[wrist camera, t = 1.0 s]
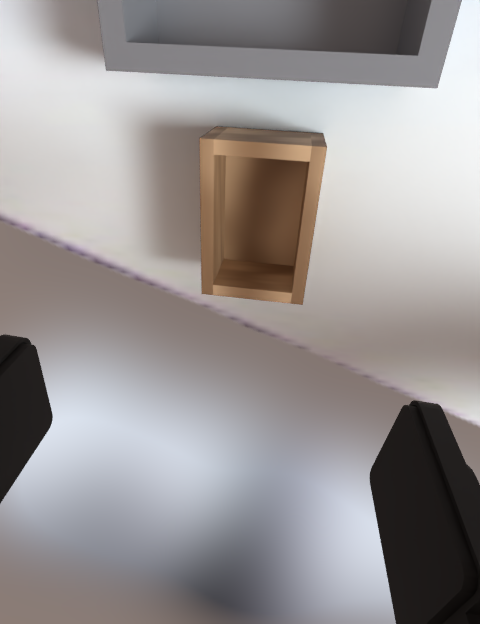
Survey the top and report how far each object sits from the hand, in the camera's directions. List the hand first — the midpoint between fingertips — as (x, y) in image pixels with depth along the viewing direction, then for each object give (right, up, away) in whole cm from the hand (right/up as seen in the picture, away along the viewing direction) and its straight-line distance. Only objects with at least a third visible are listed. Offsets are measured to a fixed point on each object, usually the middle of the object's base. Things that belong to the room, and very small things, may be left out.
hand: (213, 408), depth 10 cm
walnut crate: (+2, +10, +18) cm, 21 cm away
